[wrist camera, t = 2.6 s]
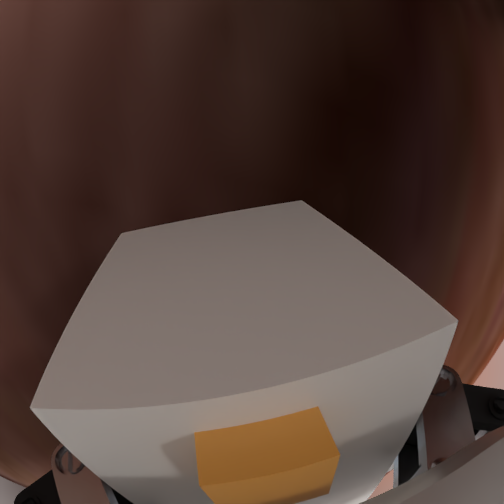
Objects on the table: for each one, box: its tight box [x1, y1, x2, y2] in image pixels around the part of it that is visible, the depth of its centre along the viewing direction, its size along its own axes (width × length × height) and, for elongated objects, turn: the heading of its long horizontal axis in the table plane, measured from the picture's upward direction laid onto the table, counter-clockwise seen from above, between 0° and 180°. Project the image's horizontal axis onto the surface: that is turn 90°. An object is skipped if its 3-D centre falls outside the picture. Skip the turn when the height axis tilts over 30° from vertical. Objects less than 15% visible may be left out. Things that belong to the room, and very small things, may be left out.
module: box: [30, 200, 458, 504], centre depth 8 cm, size 6×8×8 cm
